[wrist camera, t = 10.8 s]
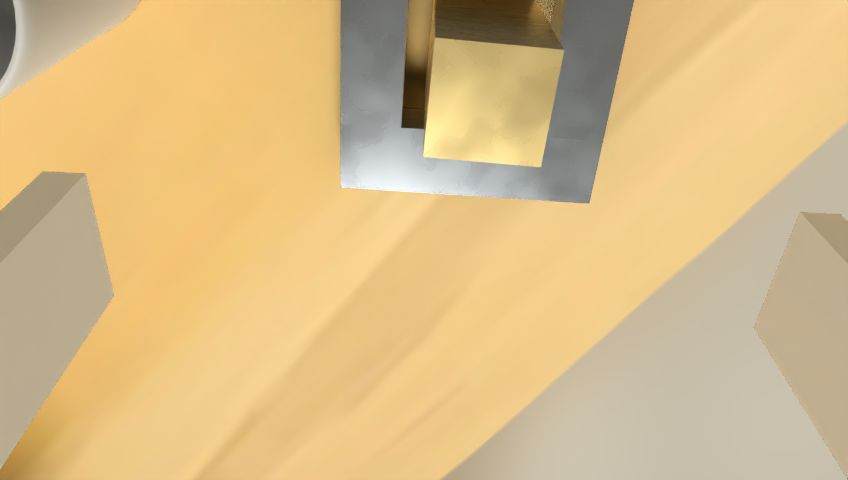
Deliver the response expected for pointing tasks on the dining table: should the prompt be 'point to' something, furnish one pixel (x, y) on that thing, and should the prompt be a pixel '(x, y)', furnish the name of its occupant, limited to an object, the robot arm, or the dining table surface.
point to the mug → (50, 33)
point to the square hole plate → (404, 127)
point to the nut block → (490, 81)
